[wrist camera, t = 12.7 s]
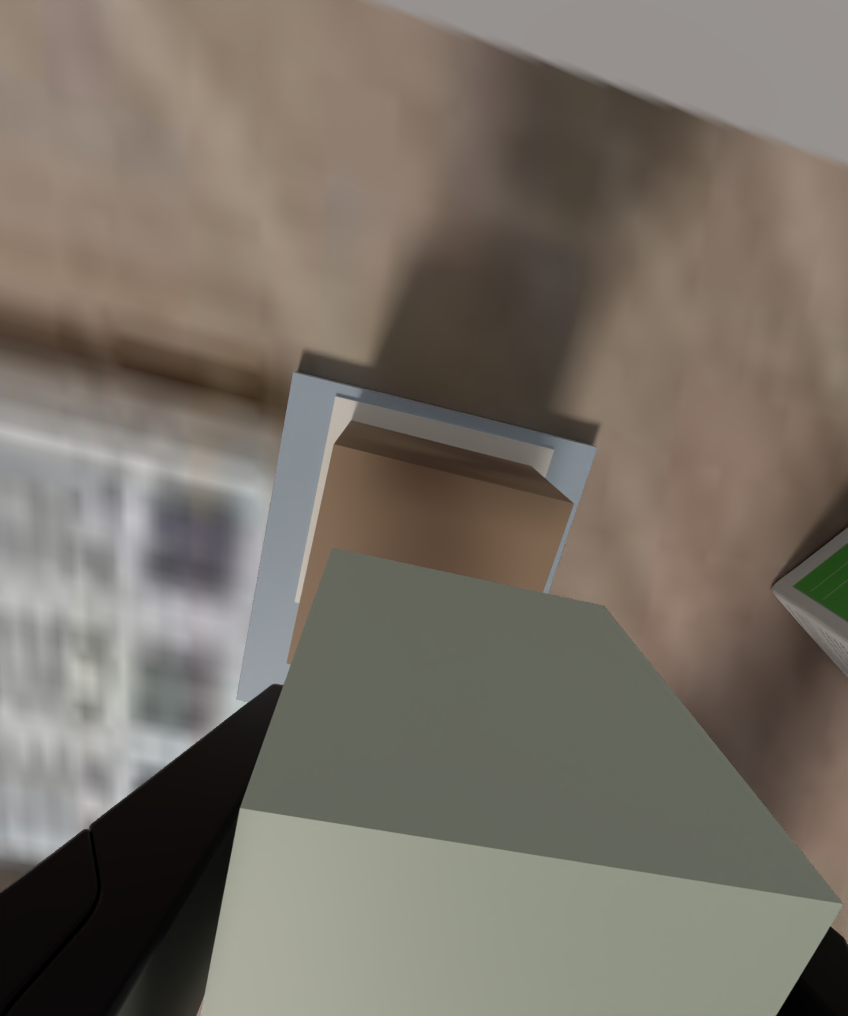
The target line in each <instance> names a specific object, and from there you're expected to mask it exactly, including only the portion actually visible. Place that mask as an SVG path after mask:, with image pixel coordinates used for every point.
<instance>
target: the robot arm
mask: <svg viewBox="0 0 848 1016" xmlns="http://www.w3.org/2000/svg"><path fill="white" fill-rule="evenodd" d="M282 688H283V685H281V684H272V685H270V686H269V687H268V688H266V689H265V690H264V691H262V692H261V693H260V694H259V695H257V696H256V697H255V698H253V699H252V700H251V701H249V702H248V703H247V704H246V705H244V706H243V707H242V708H240V709H239V710H238V711H237V712H235V713H234V714H233V715H231V716H230V717H229V718H227V719H226V720H225V721H224V722H222V723H221V724H220V725H218V726H217V727H216V728H215V729H213V730H212V731H211V732H209V733H208V734H207V735H206V736H204V737H203V738H202V739H200V740H199V741H198V742H196V743H195V744H194V745H193V746H191V747H190V748H189V749H187V750H186V751H185V752H184V753H182V754H181V755H180V756H178V757H177V758H176V759H175V760H173V761H172V762H171V763H169V764H168V765H167V766H165V767H164V768H163V769H162V770H160V771H159V772H158V773H156V774H155V775H154V776H153V777H151V778H150V779H149V780H147V781H146V782H145V783H143V784H142V785H141V786H140V787H138V788H137V789H136V790H134V791H133V792H132V793H131V794H129V795H128V796H127V797H125V798H124V799H123V800H122V801H120V802H119V803H118V804H116V805H115V806H114V807H112V808H111V809H110V810H109V811H107V812H106V813H105V814H103V815H102V816H101V817H100V818H98V819H97V820H96V821H94V822H93V823H92V824H91V825H90V826H89V830H88V829H84V830H82V831H81V832H80V833H78V834H77V835H76V836H75V837H73V838H72V839H71V840H69V841H68V842H67V843H65V844H64V845H63V846H62V847H60V848H59V849H58V850H56V851H55V852H54V853H52V854H51V855H50V856H48V857H47V858H46V859H44V860H43V861H42V862H40V863H39V864H38V865H36V866H35V867H33V868H32V869H31V870H29V871H28V872H27V873H25V874H24V875H23V876H21V877H20V878H19V879H17V880H16V881H14V882H13V883H12V884H10V885H9V886H8V887H6V888H5V889H4V890H2V891H1V892H0V1016H196V1015H197V1013H198V1010H199V1007H200V1005H201V1002H202V1000H203V997H204V995H205V990H206V984H207V979H208V974H209V969H210V963H211V958H212V953H213V948H214V942H215V937H216V932H217V926H218V921H219V916H220V911H221V905H222V900H223V895H224V890H225V884H226V879H227V874H228V869H229V863H230V858H231V853H232V847H233V842H234V837H235V832H236V826H237V821H238V816H239V811H240V807H241V804H242V801H243V798H244V795H245V793H246V790H247V787H248V784H249V781H250V778H251V776H252V773H253V770H254V767H255V764H256V761H257V759H258V756H259V753H260V750H261V747H262V745H263V742H264V739H265V736H266V733H267V730H268V728H269V725H270V722H271V719H272V716H273V713H274V711H275V708H276V705H277V702H278V699H279V696H280V694H281V691H282ZM776 1016H848V944H847V943H846V940H845V939H844V937H842V936H841V935H840V934H839V933H838V932H837V931H835V930H834V929H833V928H832V927H831V926H830V927H829V929H828V931H827V932H826V934H825V936H824V937H823V939H822V941H821V942H820V944H819V946H818V947H817V949H816V951H815V952H814V954H813V955H812V957H811V959H810V960H809V962H808V964H807V965H806V967H805V969H804V970H803V972H802V974H801V975H800V977H799V979H798V980H797V982H796V983H795V985H794V987H793V988H792V990H791V992H790V993H789V995H788V997H787V998H786V1000H785V1002H784V1003H783V1005H782V1007H781V1008H780V1010H779V1012H778V1013H777V1015H776Z"/></svg>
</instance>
